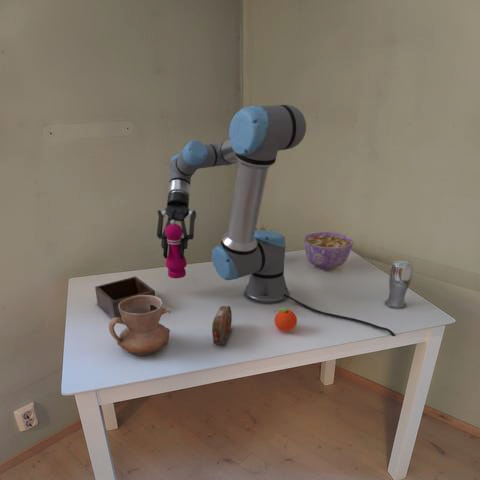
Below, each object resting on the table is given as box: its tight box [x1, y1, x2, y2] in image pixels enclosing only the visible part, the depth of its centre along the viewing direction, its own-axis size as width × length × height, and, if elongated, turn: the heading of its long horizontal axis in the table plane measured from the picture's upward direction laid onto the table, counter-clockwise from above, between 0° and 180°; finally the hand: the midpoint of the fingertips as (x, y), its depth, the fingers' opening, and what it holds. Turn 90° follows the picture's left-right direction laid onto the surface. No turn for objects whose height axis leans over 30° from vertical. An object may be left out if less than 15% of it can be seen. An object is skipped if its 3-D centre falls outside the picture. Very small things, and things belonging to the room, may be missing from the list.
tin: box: [211, 305, 233, 346], centre depth 137 cm, size 15×3×8 cm, turn 168°
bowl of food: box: [303, 231, 354, 271], centre depth 186 cm, size 20×20×12 cm
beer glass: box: [385, 260, 414, 309], centre depth 154 cm, size 7×7×15 cm
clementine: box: [274, 308, 298, 333], centre depth 141 cm, size 8×7×7 cm
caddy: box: [94, 276, 158, 320], centre depth 154 cm, size 15×15×7 cm
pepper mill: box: [164, 220, 188, 279], centre depth 156 cm, size 7×7×20 cm
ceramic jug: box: [108, 295, 172, 356], centre depth 130 cm, size 18×14×14 cm
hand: (173, 256), depth 154 cm, fingers closed on pepper mill, 5 cm apart
